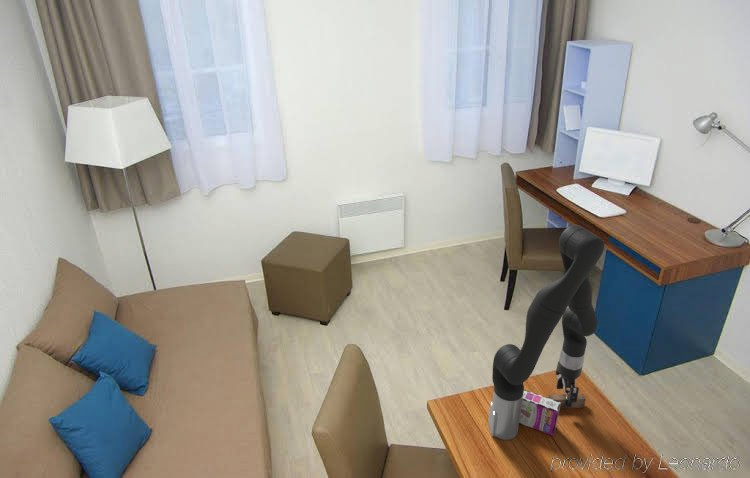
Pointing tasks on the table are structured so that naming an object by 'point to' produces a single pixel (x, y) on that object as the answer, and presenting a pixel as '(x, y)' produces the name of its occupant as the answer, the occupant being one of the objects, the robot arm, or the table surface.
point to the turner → (578, 404)
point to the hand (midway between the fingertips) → (563, 397)
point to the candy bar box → (539, 412)
